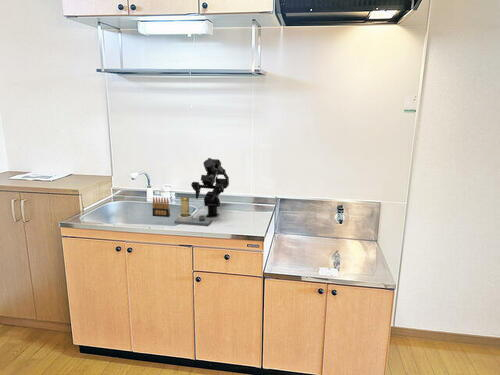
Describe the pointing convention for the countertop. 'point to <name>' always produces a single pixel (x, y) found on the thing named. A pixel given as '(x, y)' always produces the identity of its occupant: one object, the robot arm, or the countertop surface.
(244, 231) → the countertop surface
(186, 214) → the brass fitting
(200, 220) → the grey flat piece
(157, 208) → the ammunition clip
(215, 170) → the robot arm
